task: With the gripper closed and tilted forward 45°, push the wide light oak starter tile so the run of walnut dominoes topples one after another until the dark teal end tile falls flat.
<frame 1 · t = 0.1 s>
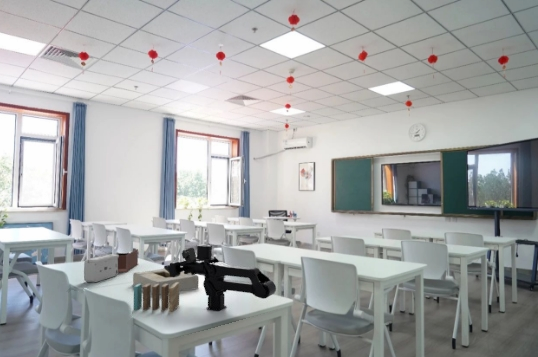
hand: (171, 265, 170), 17 cm above the table, tool horizontal, fingers open, 9 cm apart
domino 2: (164, 308, 158), on the table
domino 1: (174, 308, 158), on the table
domino 3: (155, 308, 158), on the table
domino 4: (146, 308, 158), on the table
domino 5: (137, 308, 158), on the table
stereo radio cassette player: (102, 279, 217), on the table
box: (165, 287, 198), on the table
desk organizer: (125, 269, 249), on the table
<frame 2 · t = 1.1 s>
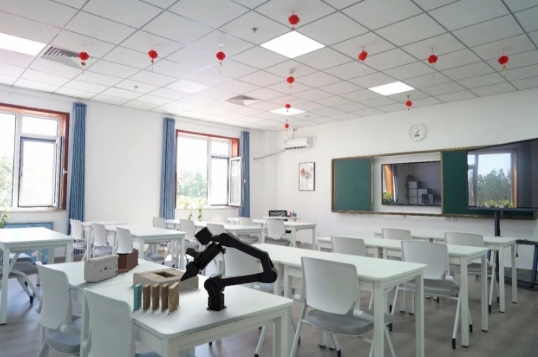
hand: (183, 278, 159), 13 cm above the table, tool tilted 45°, fingers open, 9 cm apart
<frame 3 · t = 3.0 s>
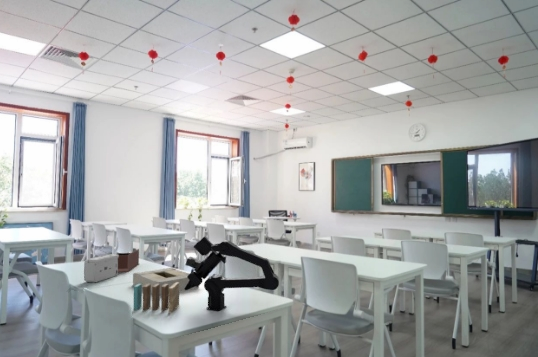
hand: (185, 289, 158), 8 cm above the table, tool tilted 45°, fingers closed
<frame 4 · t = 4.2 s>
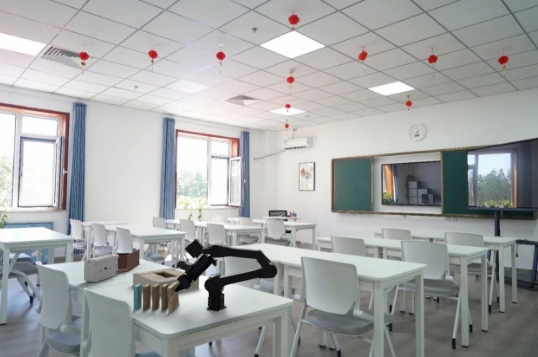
hand: (175, 291, 158), 7 cm above the table, tool tilted 45°, fingers closed
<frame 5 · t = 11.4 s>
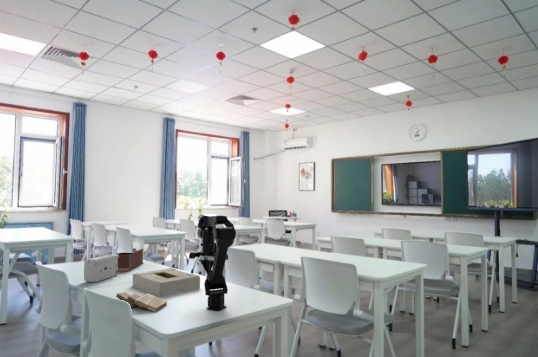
hand: (208, 274, 170), 12 cm above the table, tool pointing down, fingers closed
domino 2: (148, 305, 159), point 1 cm above the table, tilted 71°
domino 1: (161, 306, 159), point 1 cm above the table, tilted 71°
domino 3: (136, 304, 161), point 1 cm above the table, tilted 69°, touching domino 4
domino 4: (125, 303, 161), point 1 cm above the table, tilted 90°, touching domino 3, domino 5
domino 5: (129, 307, 161), on the table, tilted 90°, touching domino 4
box: (165, 288, 196), on the table
desk organizer: (129, 268, 252), on the table
everything else where it was.
at the end: domino 5 tilted 90°; domino 3 tilted 73° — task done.
